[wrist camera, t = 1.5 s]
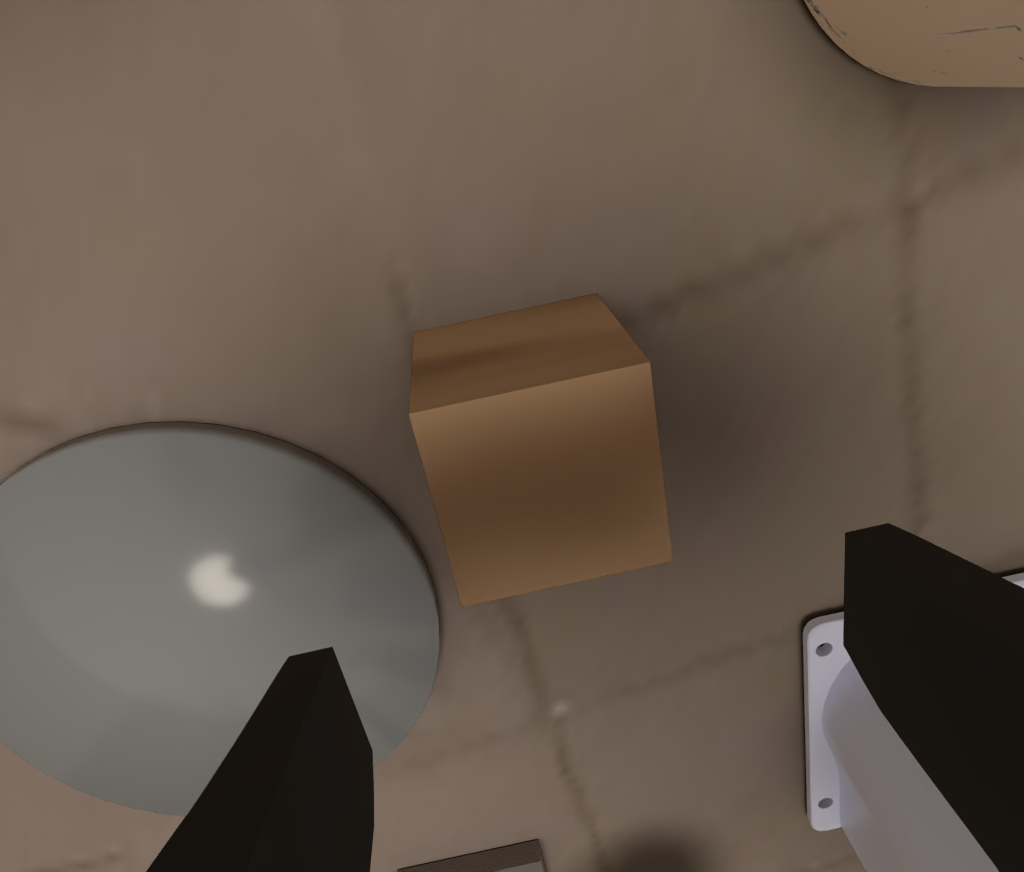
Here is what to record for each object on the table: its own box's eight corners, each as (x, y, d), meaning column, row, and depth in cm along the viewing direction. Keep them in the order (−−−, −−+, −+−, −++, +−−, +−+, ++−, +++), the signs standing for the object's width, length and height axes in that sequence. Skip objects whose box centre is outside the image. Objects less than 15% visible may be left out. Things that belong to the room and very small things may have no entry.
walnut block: (618, 454, 20) (673, 561, 16) (455, 489, 20) (462, 607, 16) (595, 292, 18) (650, 361, 14) (414, 331, 18) (408, 414, 14)
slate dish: (480, 745, 24) (481, 765, 23) (81, 831, 24) (71, 855, 23) (371, 372, 18) (369, 384, 18) (-151, 483, 18) (-174, 500, 18)
